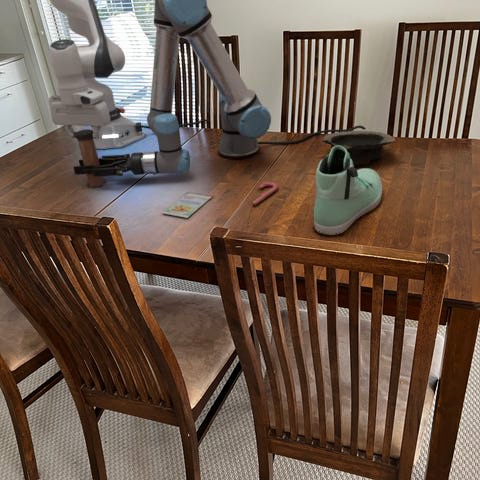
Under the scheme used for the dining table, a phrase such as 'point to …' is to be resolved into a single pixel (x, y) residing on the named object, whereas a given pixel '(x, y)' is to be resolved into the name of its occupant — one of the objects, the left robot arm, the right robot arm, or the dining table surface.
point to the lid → (84, 134)
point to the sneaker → (343, 192)
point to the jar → (90, 160)
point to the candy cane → (266, 192)
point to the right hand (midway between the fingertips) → (77, 167)
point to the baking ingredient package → (187, 205)
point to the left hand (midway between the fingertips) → (85, 137)
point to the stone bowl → (360, 144)
